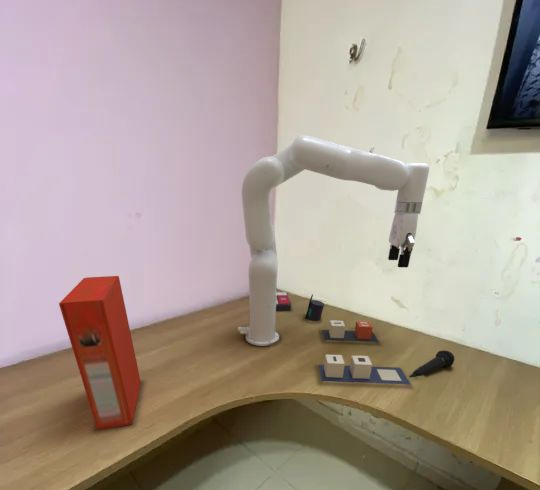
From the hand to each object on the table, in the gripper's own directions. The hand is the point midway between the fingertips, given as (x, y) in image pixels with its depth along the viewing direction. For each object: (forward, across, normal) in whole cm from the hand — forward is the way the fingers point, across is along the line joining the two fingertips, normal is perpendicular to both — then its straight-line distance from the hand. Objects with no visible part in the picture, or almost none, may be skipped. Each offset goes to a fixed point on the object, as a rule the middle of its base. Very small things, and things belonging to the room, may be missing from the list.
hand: (397, 263), depth 103 cm
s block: (+29, -3, -7) cm, 30 cm away
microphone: (+30, +18, +9) cm, 36 cm away
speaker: (+30, -19, -24) cm, 43 cm away
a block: (+29, -3, -17) cm, 33 cm away
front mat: (+30, +23, -13) cm, 40 cm away
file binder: (+29, +40, -80) cm, 94 cm away
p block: (+29, +23, -14) cm, 40 cm away
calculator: (+30, -35, -40) cm, 61 cm away
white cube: (+29, +23, -22) cm, 43 cm away
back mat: (+30, -3, -12) cm, 32 cm away
